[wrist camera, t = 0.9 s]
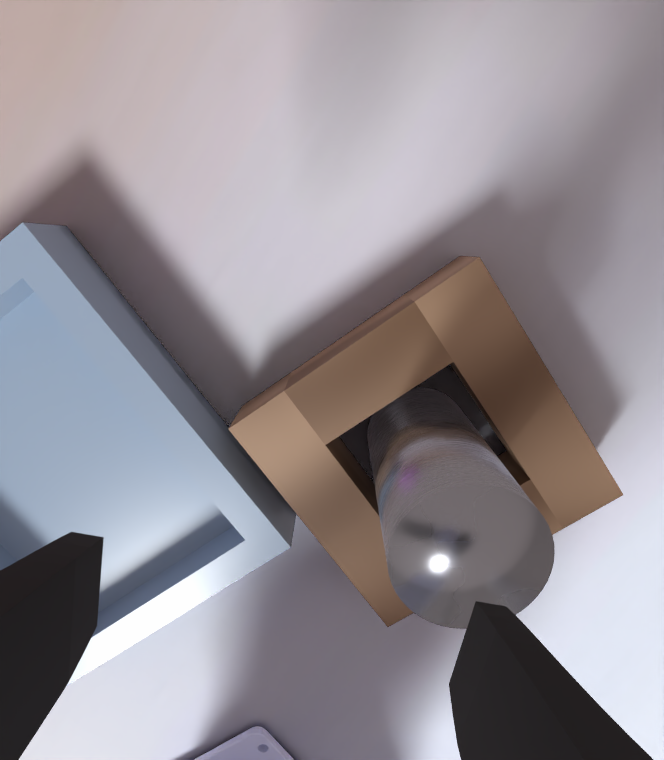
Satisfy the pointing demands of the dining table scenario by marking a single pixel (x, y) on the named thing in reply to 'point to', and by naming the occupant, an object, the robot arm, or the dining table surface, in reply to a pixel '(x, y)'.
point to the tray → (117, 448)
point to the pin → (452, 513)
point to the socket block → (390, 381)
